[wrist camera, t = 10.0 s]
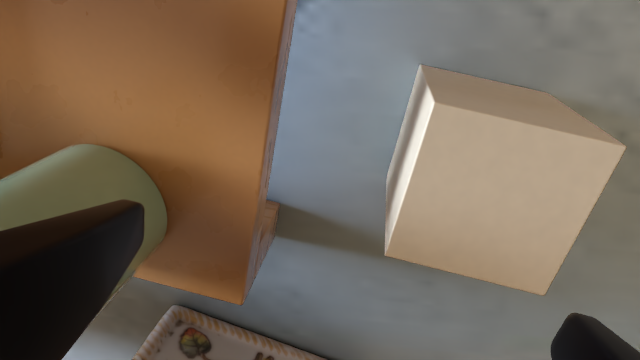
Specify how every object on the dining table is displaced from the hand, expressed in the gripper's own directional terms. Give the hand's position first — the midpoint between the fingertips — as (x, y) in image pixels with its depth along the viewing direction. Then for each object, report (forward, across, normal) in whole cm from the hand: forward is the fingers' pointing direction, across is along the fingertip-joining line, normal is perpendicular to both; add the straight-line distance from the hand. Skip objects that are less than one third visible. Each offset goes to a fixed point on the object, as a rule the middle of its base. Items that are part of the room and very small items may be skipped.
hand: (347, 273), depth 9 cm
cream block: (+10, -4, -1) cm, 11 cm away
